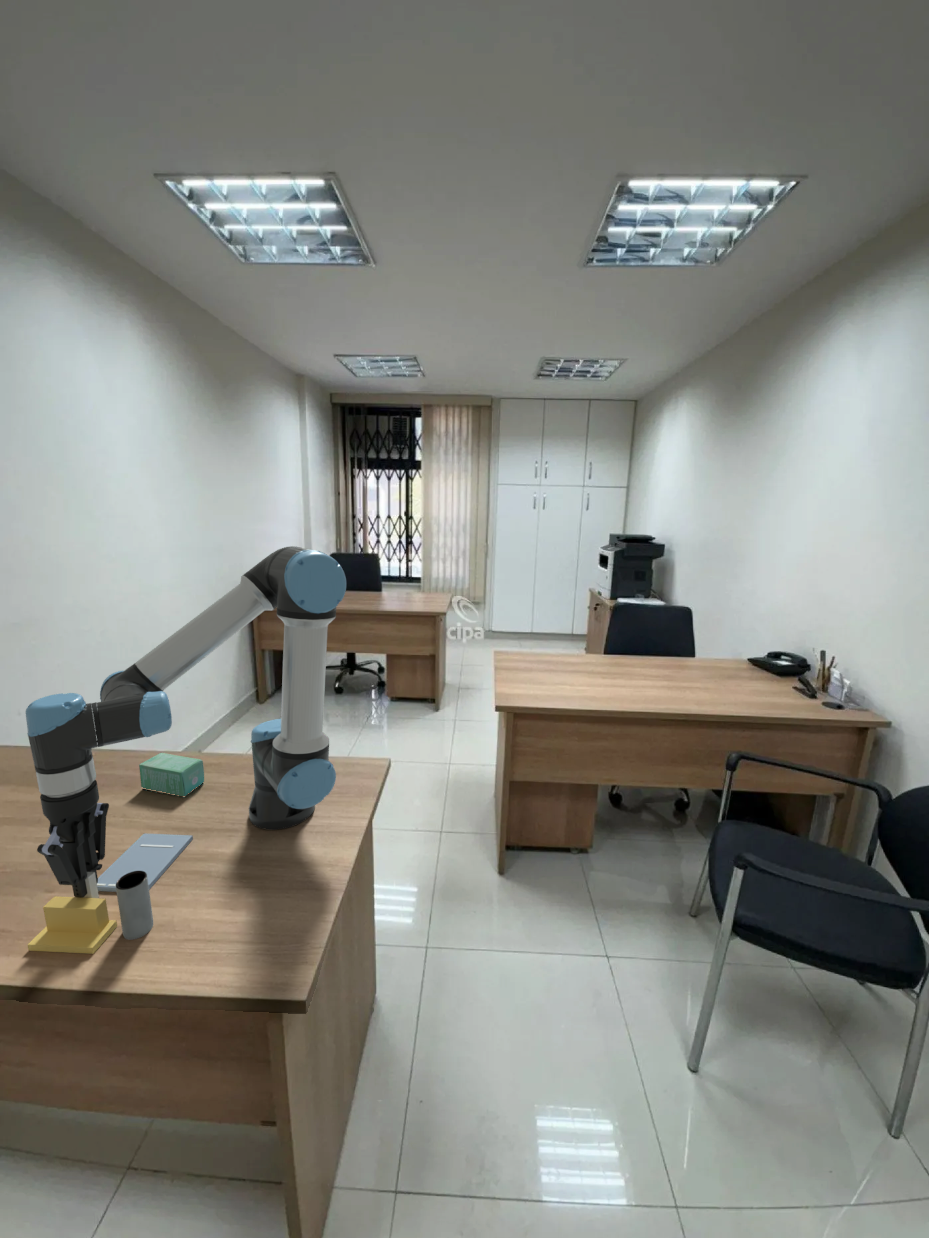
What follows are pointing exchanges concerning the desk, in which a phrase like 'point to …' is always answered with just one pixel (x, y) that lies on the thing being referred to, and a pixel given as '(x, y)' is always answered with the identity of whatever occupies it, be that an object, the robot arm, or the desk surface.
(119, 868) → the ticket
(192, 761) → the box
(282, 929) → the desk surface
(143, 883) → the gray cylinder
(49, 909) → the yellow stepped block
